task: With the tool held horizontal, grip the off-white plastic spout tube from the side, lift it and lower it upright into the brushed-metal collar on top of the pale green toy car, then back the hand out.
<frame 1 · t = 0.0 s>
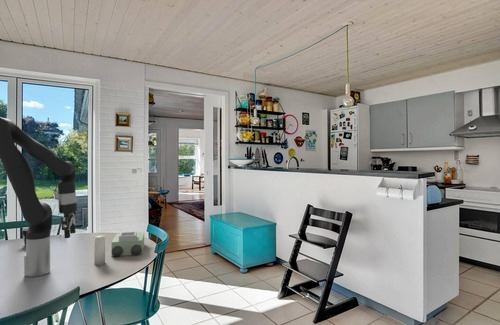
hand: (70, 235, 143), 17 cm above the table, tool pointing down, fingers open, 8 cm apart
spout tube: (99, 263, 153), on the table
pale green toy car: (128, 250, 175), on the table
coffee mug: (32, 244, 183), on the table
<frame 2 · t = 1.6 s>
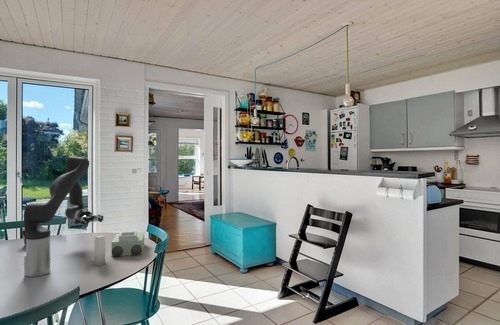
hand: (92, 221, 160), 20 cm above the table, tool horizontal, fingers open, 8 cm apart
nothing on the table moved.
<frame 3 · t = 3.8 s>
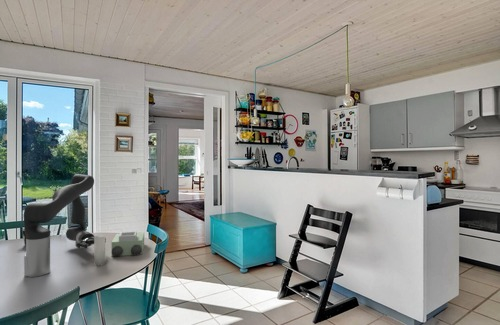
hand: (95, 244, 157), 8 cm above the table, tool horizontal, fingers open, 8 cm apart
nothing on the table moved.
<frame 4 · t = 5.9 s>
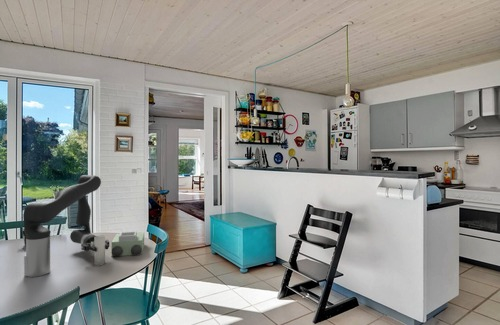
hand: (101, 248, 151), 8 cm above the table, tool horizontal, fingers closed on spout tube, 5 cm apart
spout tube: (99, 263, 153), on the table, touching gripper
everything else where it was.
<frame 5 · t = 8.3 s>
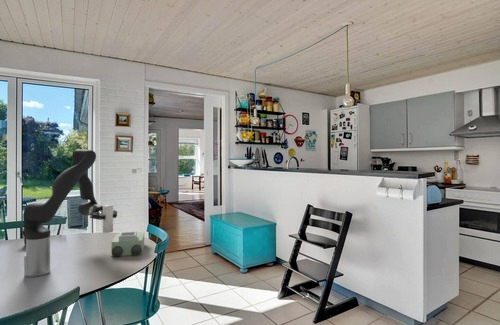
hand: (110, 216, 156), 24 cm above the table, tool horizontal, fingers closed on spout tube, 5 cm apart
spout tube: (107, 231, 158), point 15 cm above the table, touching gripper
everything else where it was.
when the fingers open (17 cm above the table, at t = 11.1 s): spout tube stays where it is, resting on pale green toy car.
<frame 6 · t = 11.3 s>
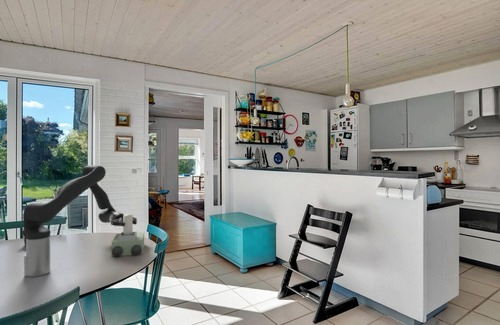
hand: (129, 223, 168), 17 cm above the table, tool horizontal, fingers open, 6 cm apart
spout tube: (127, 238, 170), point 8 cm above the table, touching pale green toy car
everything else where it was.
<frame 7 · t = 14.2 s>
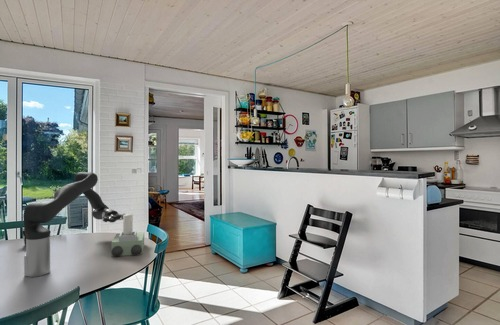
hand: (120, 219, 177), 17 cm above the table, tool horizontal, fingers open, 8 cm apart
nothing on the table moved.
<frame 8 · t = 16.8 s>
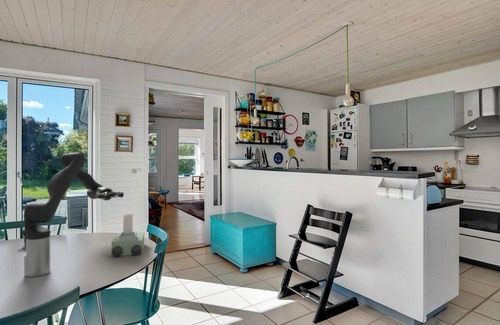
hand: (115, 196, 174), 32 cm above the table, tool horizontal, fingers open, 8 cm apart
nothing on the table moved.
at the end: spout tube 0.1 cm from the target spot on the pale green toy car, point 8.0 cm above the pale green toy car's base; spout tube tilted 0°; the gripper is holding nothing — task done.
